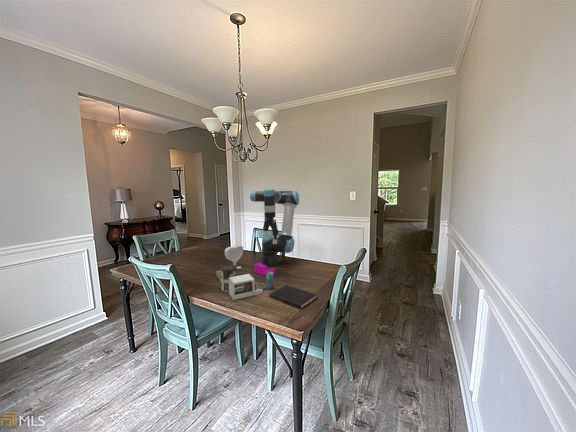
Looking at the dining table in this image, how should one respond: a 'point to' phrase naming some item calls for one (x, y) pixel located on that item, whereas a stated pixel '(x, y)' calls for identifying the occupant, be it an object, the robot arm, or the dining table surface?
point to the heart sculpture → (234, 254)
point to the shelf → (239, 280)
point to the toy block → (263, 269)
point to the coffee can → (227, 276)
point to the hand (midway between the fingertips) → (270, 241)
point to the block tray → (219, 275)
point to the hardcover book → (293, 296)
